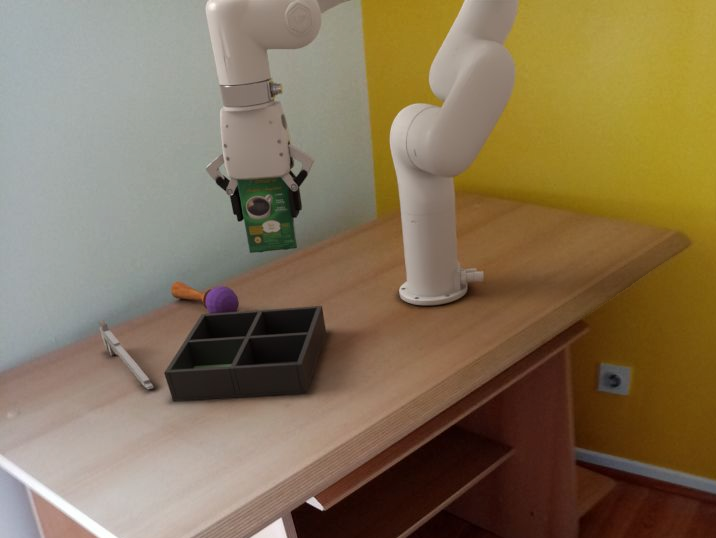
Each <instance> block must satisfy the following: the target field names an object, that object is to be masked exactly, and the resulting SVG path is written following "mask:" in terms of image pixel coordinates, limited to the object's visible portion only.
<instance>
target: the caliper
mask: <svg viewBox="0 0 716 538" xmlns="http://www.w3.org/2000/svg"><path fill="white" fill-rule="evenodd" d="M98 328H99V331H100V335H101V338H102V340H103V345H104V346H105V349H106V351H107V353H109V354H110V356H111V357H112V356H114V355H116V357H119V358H120V359H121V361H123V363H124V364H125V365H126V367H127V368H128V369H129V370H130V372H131V373H132V374H133V375H134V376H135V377H136V379H137V380H138V381H139V383H140V384H141V385H142V386H143V388H144V389H147V390H148V391H149V390H152V389H154V384H153V383H152V382H151V380H150V378H149V377H148V376H147V375H146V373H145V372H144V371H143V370H142V369H141V367H140V366H139V365H138V363H136V361H135V360H134V359H133V358H132V357H131V355H130V354H129V353H128V352H127V351H126V349H125V348H124V347H123V346H122V345H121V343H120V341H119V340H118V338H117V337H116V336H115V335H114V333H112V331H111V330H110V329H109V327H108V323H106V322H105V320H100V321H98Z"/></svg>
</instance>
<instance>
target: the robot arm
mask: <svg viewBox="0 0 716 538" xmlns="http://www.w3.org/2000/svg"><path fill="white" fill-rule="evenodd" d="M350 1H351V0H207V1H206V4H205V16H206V22H207V28H208V32H209V38H210V43H211V47H212V53H213V58H214V64H215V69H216V74H217V79H218V84H219V88H220V95H221V100H222V105H223V106H222V107H221V108H220V110H219V123H220V128H219V129H220V139H221V140H220V141H221V148H222V149H221V150H222V152H221V153H219V155H218V156H216V158H215V159H214V160H212V161H211V162H210V163H209V164H208V165H207V166H206V167H205V171H206V172H207V174H208V175H209V176H210V177H211V178H212V179H213V180H214V182H215V184H216V185H217V186H218V187H220V188H221V189H222V190H223V191H224V192H225V193H226V195H227V196H229V199H230V204H231V209H232V214H233V215H234V216H236V220H237V222H242V221H244V217H243V212H242V206H241V200H240V194H239V188H238V183H237V179H239V180H251V179H264V178H277V177H281V178H282V179H283V180H284V182H285V183H286V184H287V185H288V186H289V189H290V190H289V192H288V198H289V204H290V210H291V216H292V217H293V218H294V219H296V218H297V217H298V216H299V215H300V211H302V209H303V204H302V197H301V191H300V187H301V185H302V184H303V183H304V182H305V180H306V179H307V177H308V176H309V174H310V171H311V168H312V167H313V165H314V163H315V159H314V157H313V156H312V155H310V154H308V153H306V152H305V151H303V150H301V149H299V148H298V147H296V146H294V145H293V144H292V140H291V135H290V130H289V127H288V121H287V118H286V115H285V111H284V108H283V105H282V103H281V101H279V100H275V99H276V96H278V95H282V94H283V93H284V87H283V84H282V83H277V82H275V81H274V79H273V77H271V69H270V62H269V57H268V50H299V49H302V48H305V47H307V46H309V45H310V44H311V43H312V42H314V40H315V39H316V38H317V37H318V34H319V33H320V30H321V27H322V14H324V13H326V12H327V11H328V10H331V9H333V8H334V7H337V6H339V5H342V4H343V3H346V2H350ZM518 11H519V0H464V1H463V3H462V6H461V7H460V10H459V12H458V14H457V16H456V17H455V20H454V22H453V23H452V25H451V27H450V29H449V31H448V33H447V35H446V36H445V39H444V40H443V42H442V44H441V46H440V47H439V49H438V51H437V53H436V55H435V57H434V59H433V61H432V63H431V64H430V65H431V66H430V69H429V72H428V73H429V74H428V83H429V87H430V90H431V92H432V93H433V95H434V96H435V97H436V98H437V99H438V100H440V101H442V102H443V103H442V106H438V105H434V104H430V103H423V102H421V103H420V102H417V103H412V104H409V105H407V106H405V107H404V108H402V109H401V110H400V111H399V112H397V115H396V116H395V118H393V121H392V123H391V126H390V132H389V148H390V149H389V150H390V154H391V159H392V163H393V167H394V171H395V175H396V181H397V182H396V183H397V189H398V196H399V207H400V219H401V230H402V241H403V242H402V243H403V254H404V264H405V276H406V281H405V282H404V283H403V284H401V285H400V287H399V289H398V290H399V298H400V299H401V300H402V301H404V302H406V303H408V304H410V305H415V306H424V307H425V306H439V305H444V304H448V303H452V302H456V301H457V300H459V299H462V297H464V296H465V295H466V294H467V293H468V289H469V288H468V283H473V284H474V283H484V279H485V278H484V270H479V271H478V270H477V267H472V268H464V267H461V261H460V260H459V256H458V254H459V253H458V238H457V236H458V235H457V233H458V232H457V215H456V213H457V212H456V191H455V184H454V183H455V182H454V179H453V178H455V177H458V176H459V175H461V174H463V173H464V172H466V171H467V170H468V169H469V168H470V167H471V165H472V164H473V163H474V162H475V160H476V159H477V157H479V154H480V153H481V151H482V149H483V148H484V146H485V144H486V142H487V140H488V139H489V137H490V135H491V133H492V132H493V130H494V128H495V127H496V126H497V123H498V121H499V119H500V118H501V116H502V114H503V112H504V111H505V109H506V107H507V105H508V103H509V102H510V99H511V97H512V94H513V91H514V87H515V82H516V64H515V61H514V58H513V56H512V54H511V53H510V51H509V50H508V48H507V47H505V46H504V45H505V43H506V41H507V39H508V37H509V35H510V33H511V30H512V28H513V26H514V24H515V21H516V19H517V15H518ZM295 160H296V161H298V162H300V163H301V165H302V166H301V169H300V171H299V173H298V174H296V173H295V172H294V171H293V170H292V169H293V168H294V167H295ZM223 165H224V168H225V171H226V175H227V177H228V178H227V177H226V176H225V175H224V174H222V172H221V170H220V167H221V166H223Z"/></svg>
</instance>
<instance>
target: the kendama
mask: <svg viewBox="0 0 716 538" xmlns="http://www.w3.org/2000/svg"><path fill="white" fill-rule="evenodd" d="M170 293H171V295H172V297H173V298H176V299H178V300H194V301H202V303H203V307H204V308H205V309H206V310H207V312H208V314H213V313H227V312H238V309H239V306H240V305H239V304H240V302H239V297H238V296H237V294H236V293H235V291H234V290H233V289H232V288H230V287H228V286H223V285H218V286H215V287H213V288H210V289H208V290H207V291H206V292H204V293H203V292H200V291H199V290H197V289H195V288H194V287H191V286H189V285H187V284H185V283H183V282H182V281H175V282H173V283H172V285H171V287H170Z"/></svg>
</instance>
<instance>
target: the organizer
mask: <svg viewBox="0 0 716 538" xmlns="http://www.w3.org/2000/svg"><path fill="white" fill-rule="evenodd" d="M326 336H327V328H326V322H325V316H324V311H323V305H312V306H300V307H299V306H298V307H297V306H296V307H285V308H272V309H271V308H270V309H258V310H256V309H255V310H242V311H237V312H227V313H213V314H210V313H202V314H201V315H200V316H199V317H198V319H197V321H196V323H195V324H194V325H193V327H192V328H191V330H190V332H189V333H188V335H187V336H186V337H185V339H184V341H183V342H182V344H181V345H180V347H179V349H178V350H177V352H176V353H175V355H174V357H173V358H172V359H171V361H170V363H169V364H168V366H167V367H166V368H165V371H164V373H163V374H164V378H165V380H166V383H167V386H168V390H169V393H170V395H171V400H172V402H180V401H198V400H199V401H200V400H201V401H202V400H217V399H233V398H235V399H237V398H252V397H253V398H254V397H273V396H289V395H291V396H292V395H305V394H308V391H309V389H310V385H311V383H312V379H313V377H314V376H313V375H314V372H315V370H316V366H317V364H318V360H319V357H320V354H321V350H322V348H323V344H324V341H325V337H326Z"/></svg>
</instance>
